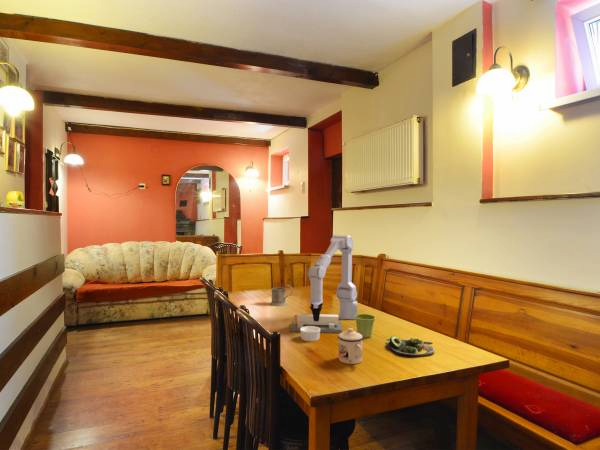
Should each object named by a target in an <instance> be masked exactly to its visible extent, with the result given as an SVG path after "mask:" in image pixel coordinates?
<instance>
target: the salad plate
mask: <svg viewBox="0 0 600 450" xmlns="http://www.w3.org/2000/svg"><path fill="white" fill-rule="evenodd" d="M433 343H434V342H432V341H431V342H430V341H423V338H422V339H419V338H412V337H410V338H409V339H408V338H407V339H401V338H400V337H398V336H397V335H391V336H390V338H387V339H386V343H385V344H386V347H387V349H388V350H390V352H392V353H393V354H395V355H397V356H400V357H405V358H417V357H425V356H428V355H429V356H430V355H432V354H434V353H435V351H436V350H435V348H433V347H431V346H430V345H433ZM422 349H423V350H422ZM418 350H419V351H424V350H425V353H419V351H418ZM426 351H427V352H426Z"/></svg>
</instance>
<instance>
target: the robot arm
mask: <svg viewBox="0 0 600 450" xmlns="http://www.w3.org/2000/svg"><path fill="white" fill-rule="evenodd" d="M338 250H339V251H340V253H341V281H340V283H339V284H337V289H336V292H335V293H336V294H335V295H336V298H337V299H338V301H339V314H338V317H339V320H355V317H354V316H355V315H357V314H359V311H358V300H356V299H357V297H358V292H357V286H356V285H355V284H354V283H353V282H352V280H353V279H352V278H353V277H352V276H353V275H352V273H353V272H352V271H353V269H352V267H353V262H352V261H353V260H352V259H353V250H354V239H353V237H352V236H351V235H345V234H344V235H341V234H333V236H332V237H331V238H330V245H329V246H328V247H327V250H326V251H325V253H324V254H321V255H320V256H319V257H318V259H317V260H316V262H315V264H314V265H311V266H310V267H309V268H308V271H307V275H308V277H309V281H310V299H307V302H308V303H310V306H309V308H310V310H311V314H313V319H314V321H319V316H320V314H321V311H322V309H323V302H324V301H323V297H324V296H323V288H324V287H323V286H324V285H323V281H324V280H323V279H324V277H325V276H326V272H327V269H328V267H329V265H330V264H331V262H332V257H333V256H334V255H335V253H337V251H338Z"/></svg>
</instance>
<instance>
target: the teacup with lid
mask: <svg viewBox="0 0 600 450" xmlns="http://www.w3.org/2000/svg"><path fill="white" fill-rule="evenodd" d="M337 338H338V360H339V361H340V362H341V363H344V364H346V365H357V364H359V363H360V364H361V362H362V361H363V353H364V351H363V340H364V338H363V336H362V335H361V334H359V333H357V331H355V330H354V328H353V327H352V328H351V327H349V328H347V330H345V331H342V333H338V336H337Z"/></svg>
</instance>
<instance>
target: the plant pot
mask: <svg viewBox="0 0 600 450" xmlns="http://www.w3.org/2000/svg"><path fill="white" fill-rule="evenodd" d="M354 317H355V319H354V320H355V324H356V332H357V333H359V334H361V335H362V336H363V339H367V338H372V335H373V328H374V327H373V326H374V322H375V320H376V318H377V317H376V316H375V315H373V314H370V313H358V314H357V315H355V316H354Z"/></svg>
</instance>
